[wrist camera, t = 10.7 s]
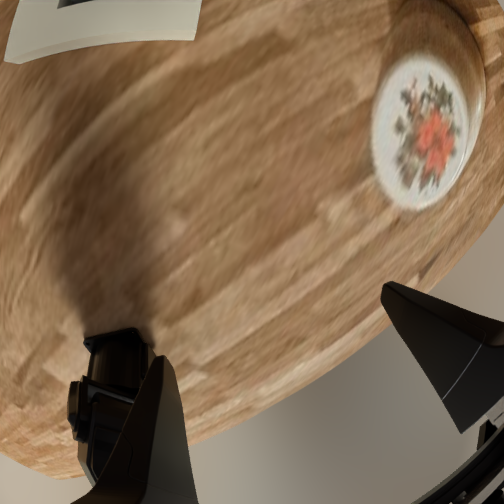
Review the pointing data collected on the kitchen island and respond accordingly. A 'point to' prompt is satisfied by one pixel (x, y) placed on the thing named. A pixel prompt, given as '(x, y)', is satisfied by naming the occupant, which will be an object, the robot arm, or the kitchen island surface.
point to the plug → (80, 1)
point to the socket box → (96, 24)
